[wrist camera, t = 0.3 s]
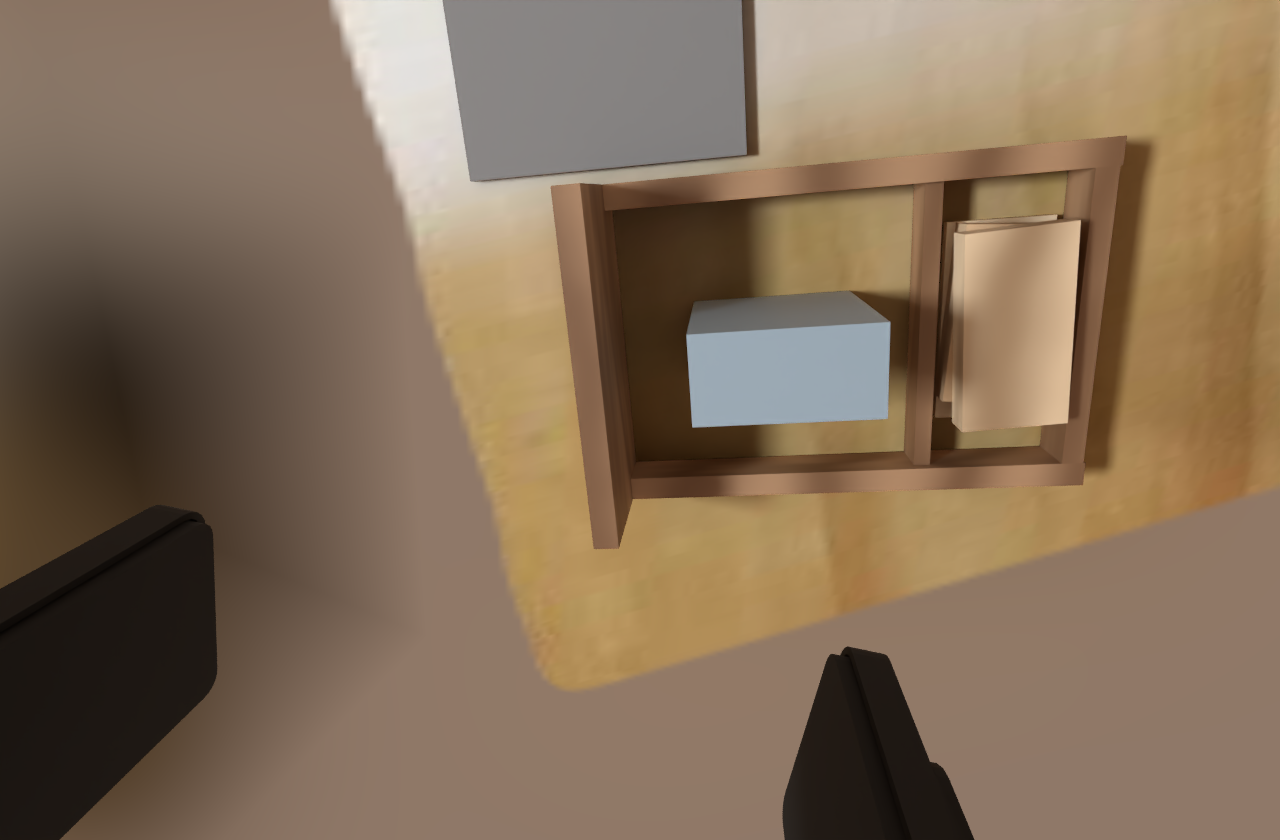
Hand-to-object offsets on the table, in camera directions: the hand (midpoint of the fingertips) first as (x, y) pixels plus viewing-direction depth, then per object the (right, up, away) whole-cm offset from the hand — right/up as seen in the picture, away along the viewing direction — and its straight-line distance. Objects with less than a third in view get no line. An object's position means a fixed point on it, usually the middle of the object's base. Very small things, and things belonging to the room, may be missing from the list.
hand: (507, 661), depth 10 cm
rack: (+12, +8, +26) cm, 29 cm away
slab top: (+20, +8, +23) cm, 31 cm away
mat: (0, +21, +23) cm, 31 cm away
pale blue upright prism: (+9, +8, +26) cm, 29 cm away
